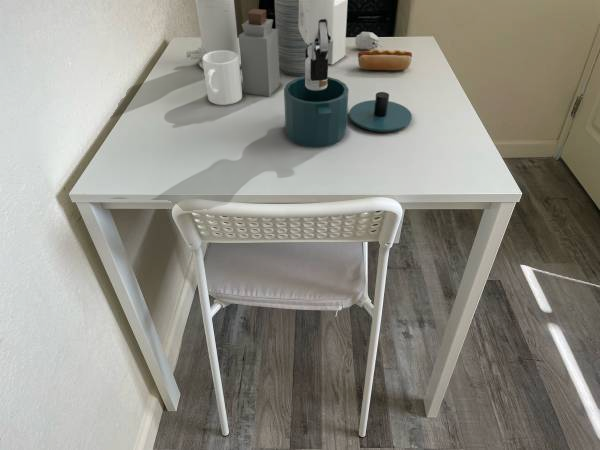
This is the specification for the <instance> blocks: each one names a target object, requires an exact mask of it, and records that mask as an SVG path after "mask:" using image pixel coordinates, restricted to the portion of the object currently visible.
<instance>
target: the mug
mask: <svg viewBox="0 0 600 450" xmlns="http://www.w3.org/2000/svg"><path fill="white" fill-rule="evenodd" d="M202 61H203V67H204V69H203V72H204V73H203V74H204V79H205V86H206V93H207V99H208V101H209V102H210V103H211V104H214V105H219V106H226V105H227V106H229V105H233V104H235V103H238V102H239V101H241V100H242V98H243V86H242V78H241V76H242V75H241V69H240V68H241V67H240V66H239V56H238V55H237V54H236V53H235V52H232V51H227V50H218V51H213V52H209V53H207V54H205V55H204V56H203V58H202Z"/></svg>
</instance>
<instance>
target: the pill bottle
mask: <svg viewBox="0 0 600 450" xmlns="http://www.w3.org/2000/svg"><path fill="white" fill-rule="evenodd" d="M318 48H319V46H316V50H317V49H318ZM308 56H309V57H307V58H306V60H305V86H306V88H307V89H309V90H313V91H319V90H323V89H325V88H326V87H327V80H328V78H327V79H326V80H318V81H312V80H311V78H310V70H311V59H312V45H310V46H308Z"/></svg>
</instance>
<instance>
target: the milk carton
mask: <svg viewBox="0 0 600 450" xmlns="http://www.w3.org/2000/svg"><path fill="white" fill-rule="evenodd" d="M348 1H349V0H334V34H333V41H332V42H331V43H328V65H335V64H336V63H337V62H339V61H340V60H341V59H343V58H344V57H345V55H346V52H345V51H346V38H347V37H346V36H347V19H348Z"/></svg>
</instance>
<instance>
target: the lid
mask: <svg viewBox="0 0 600 450" xmlns="http://www.w3.org/2000/svg"><path fill="white" fill-rule="evenodd" d="M389 100H390V94H389V93H388V92H385V91H378V92H376V93H375V99H371V100H365V101H361V102H358V103H356V104H354V105H353V106H352V107H351V108H350V109H349V112H348V116H349V119H350V121H351V122H352V123H353V124H355V125H356V126H358V127H359V128H361V129H365V130H368V131H373V132H394V131H399V130H402V129H404V128H406V127H407V126H408V125H410V123H411V121H412V118H413V116H412V115H413V114H412V112H411V111H410V110H409V109H408V108H407V107H406V106H404V105H402V104H400V103H397V102H394V101H389Z"/></svg>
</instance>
